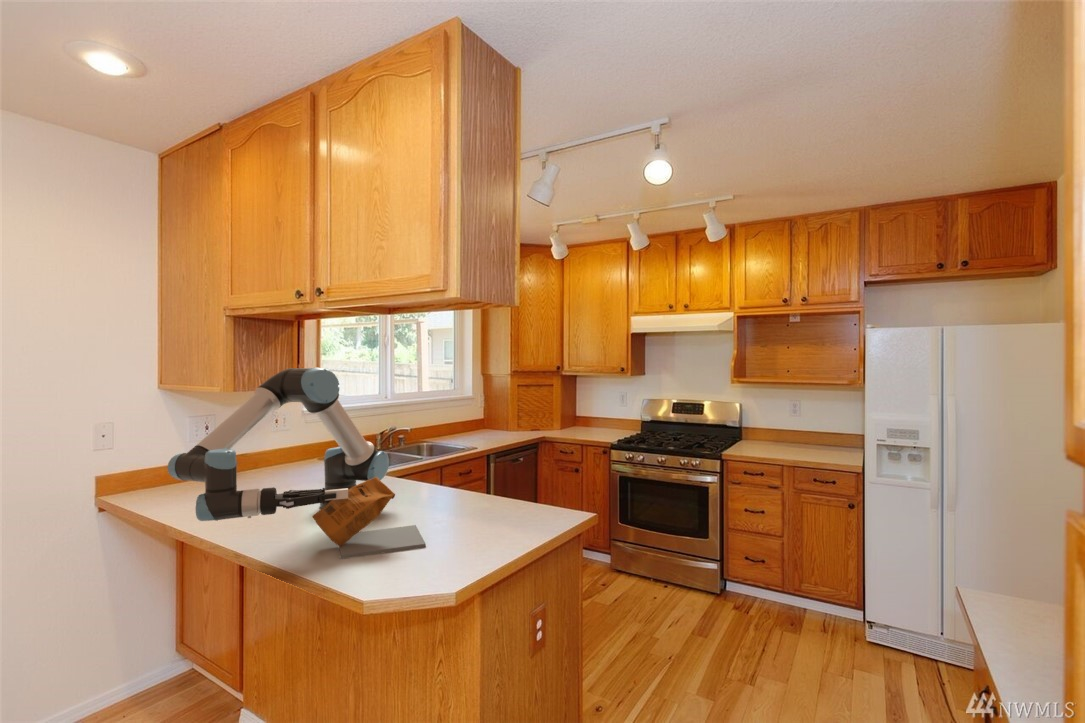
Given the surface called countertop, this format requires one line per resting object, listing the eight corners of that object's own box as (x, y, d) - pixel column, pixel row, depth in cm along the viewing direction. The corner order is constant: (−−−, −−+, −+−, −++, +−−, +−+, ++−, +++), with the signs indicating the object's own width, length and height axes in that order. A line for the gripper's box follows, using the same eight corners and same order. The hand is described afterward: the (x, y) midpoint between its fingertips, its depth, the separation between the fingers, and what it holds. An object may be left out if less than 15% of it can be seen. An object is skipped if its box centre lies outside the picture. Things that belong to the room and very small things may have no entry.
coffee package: (320, 530, 162) (379, 483, 173) (341, 553, 154) (400, 503, 166) (307, 511, 155) (369, 465, 166) (328, 534, 148) (391, 484, 159)
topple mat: (339, 537, 166) (339, 534, 166) (415, 527, 175) (415, 525, 175) (340, 558, 147) (340, 555, 147) (425, 546, 156) (425, 543, 156)
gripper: (263, 509, 155) (347, 500, 164) (257, 521, 143) (348, 511, 152) (263, 484, 155) (347, 476, 164) (257, 494, 143) (348, 485, 152)
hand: (347, 493), depth 158 cm, fingers closed
